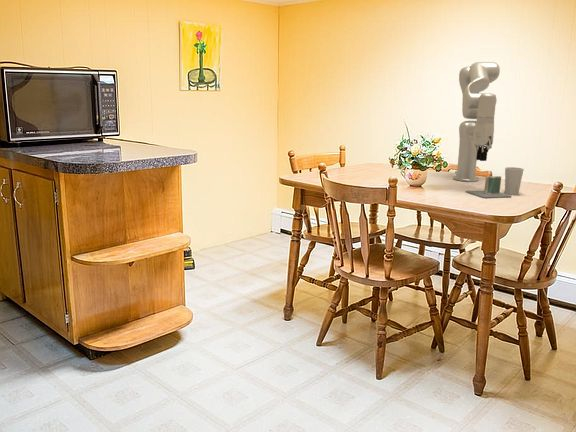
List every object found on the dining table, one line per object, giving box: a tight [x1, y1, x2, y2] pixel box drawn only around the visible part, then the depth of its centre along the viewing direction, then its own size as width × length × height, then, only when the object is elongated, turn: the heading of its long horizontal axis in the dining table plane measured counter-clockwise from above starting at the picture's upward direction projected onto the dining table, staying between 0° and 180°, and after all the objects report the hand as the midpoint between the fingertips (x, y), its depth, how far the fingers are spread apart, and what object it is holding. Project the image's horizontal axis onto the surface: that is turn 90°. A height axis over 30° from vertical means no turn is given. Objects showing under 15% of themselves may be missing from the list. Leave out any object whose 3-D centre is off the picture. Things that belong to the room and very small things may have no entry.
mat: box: [465, 189, 512, 199], centre depth 248 cm, size 15×14×1 cm
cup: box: [503, 166, 525, 196], centre depth 250 cm, size 8×8×12 cm
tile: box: [483, 175, 502, 194], centre depth 247 cm, size 2×8×7 cm
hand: (481, 160), depth 252 cm, fingers closed
